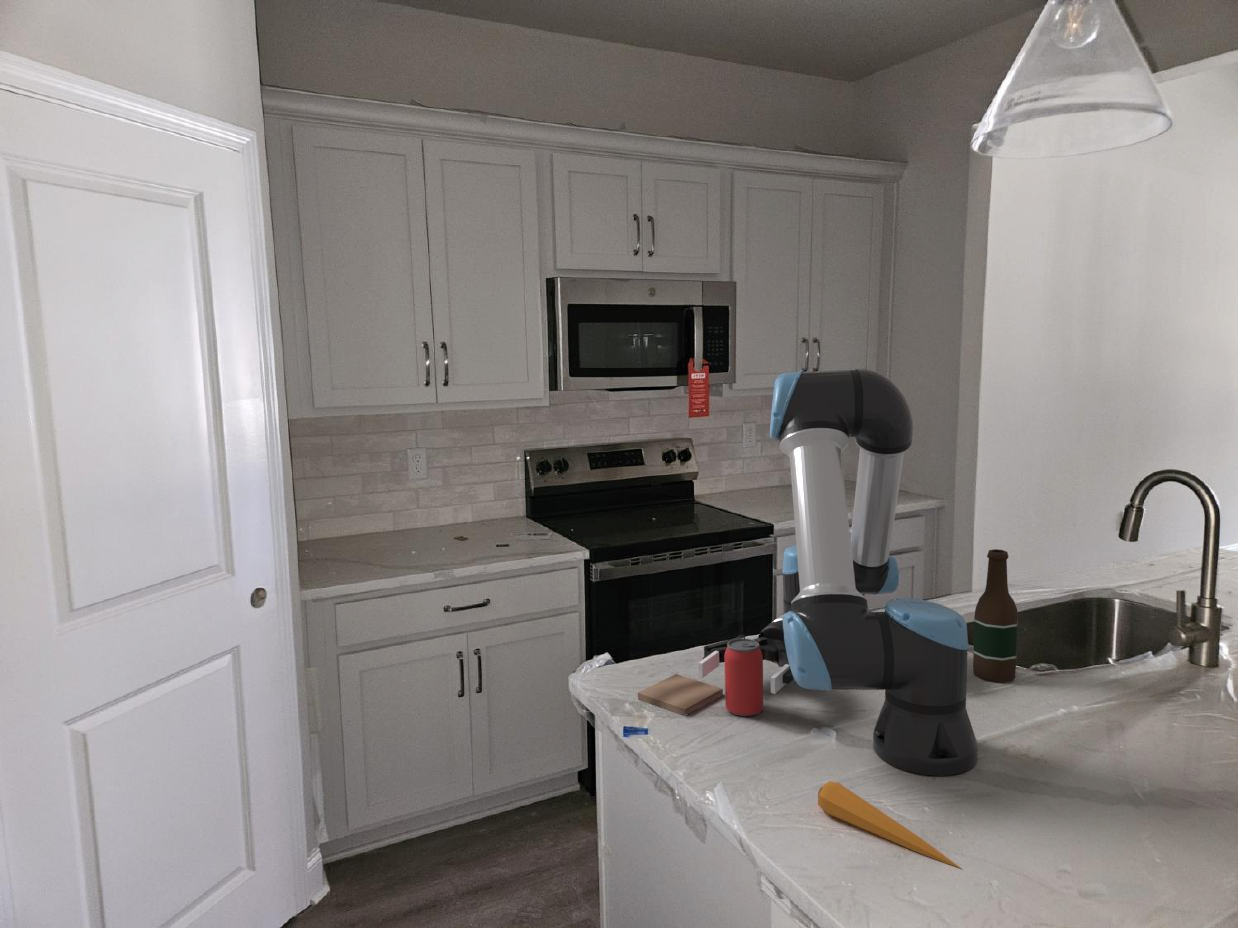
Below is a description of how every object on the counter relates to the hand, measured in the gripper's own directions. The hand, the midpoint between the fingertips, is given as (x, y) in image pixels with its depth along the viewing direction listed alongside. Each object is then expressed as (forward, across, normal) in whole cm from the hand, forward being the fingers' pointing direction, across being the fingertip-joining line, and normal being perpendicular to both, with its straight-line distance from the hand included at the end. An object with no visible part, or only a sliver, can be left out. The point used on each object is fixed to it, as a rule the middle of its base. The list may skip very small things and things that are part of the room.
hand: (735, 677), depth 140 cm
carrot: (+22, -32, -8) cm, 39 cm away
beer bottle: (-39, -35, -7) cm, 53 cm away
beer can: (-3, 0, -7) cm, 8 cm away
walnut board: (-2, +12, -7) cm, 14 cm away
